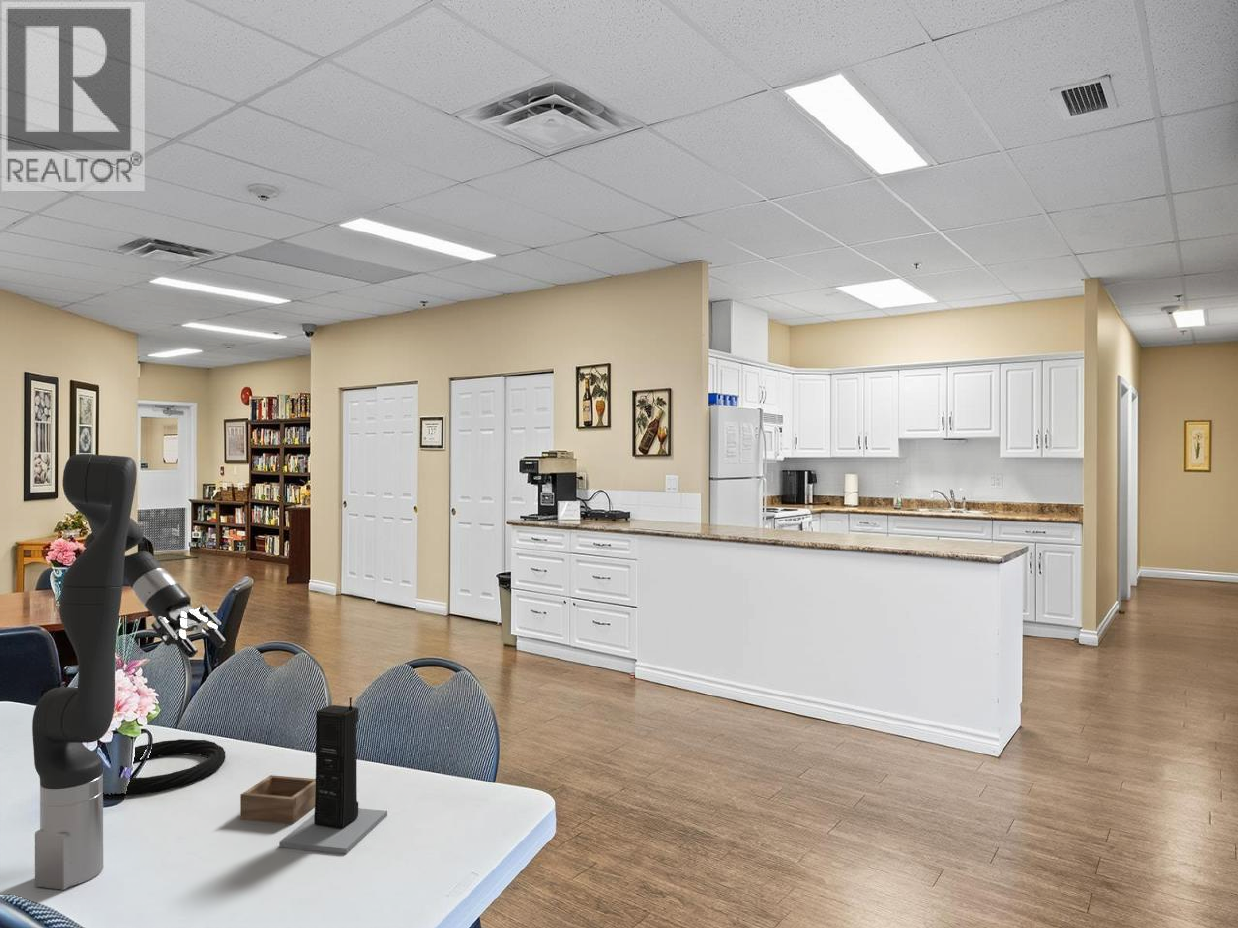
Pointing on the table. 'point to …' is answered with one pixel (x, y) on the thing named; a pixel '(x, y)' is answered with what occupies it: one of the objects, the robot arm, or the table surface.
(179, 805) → the table surface
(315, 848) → the slate mat
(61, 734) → the robot arm
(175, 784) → the cable lock
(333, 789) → the portable radio
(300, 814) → the walnut collar
